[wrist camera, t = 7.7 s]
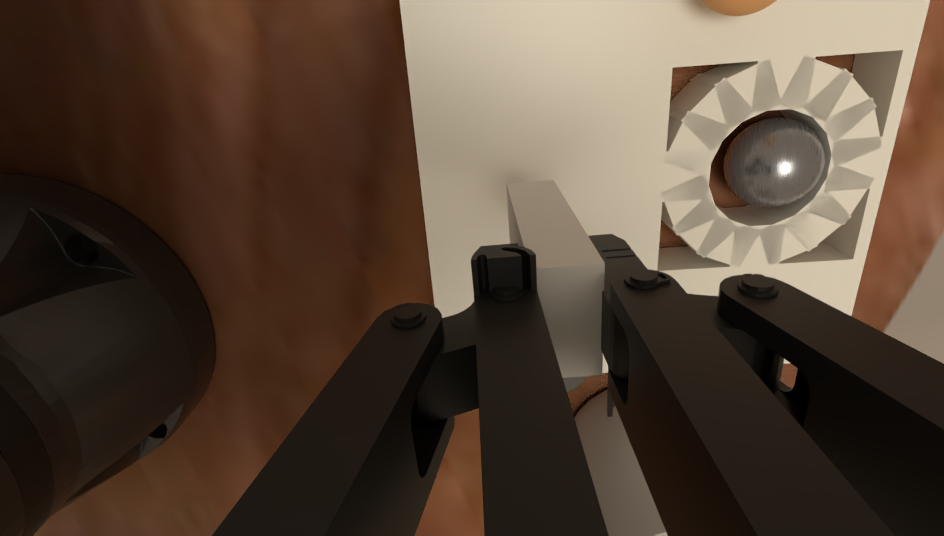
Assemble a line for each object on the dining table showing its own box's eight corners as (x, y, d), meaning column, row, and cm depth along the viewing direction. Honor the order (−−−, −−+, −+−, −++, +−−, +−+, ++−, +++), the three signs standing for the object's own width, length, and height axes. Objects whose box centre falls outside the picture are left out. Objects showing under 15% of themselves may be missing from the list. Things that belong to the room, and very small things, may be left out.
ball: (812, 197, 22) (721, 196, 24) (824, 111, 21) (727, 115, 22) (824, 218, 19) (718, 215, 21) (838, 120, 18) (726, 124, 19)
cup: (569, 378, 27) (607, 525, 19) (762, 378, 27) (885, 526, 19) (561, 482, 30) (591, 648, 22) (735, 483, 30) (831, 650, 22)
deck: (446, 351, 27) (443, 381, 24) (401, -60, 19) (391, -73, 17) (808, 332, 26) (840, 360, 23) (901, -104, 19) (961, -125, 16)
